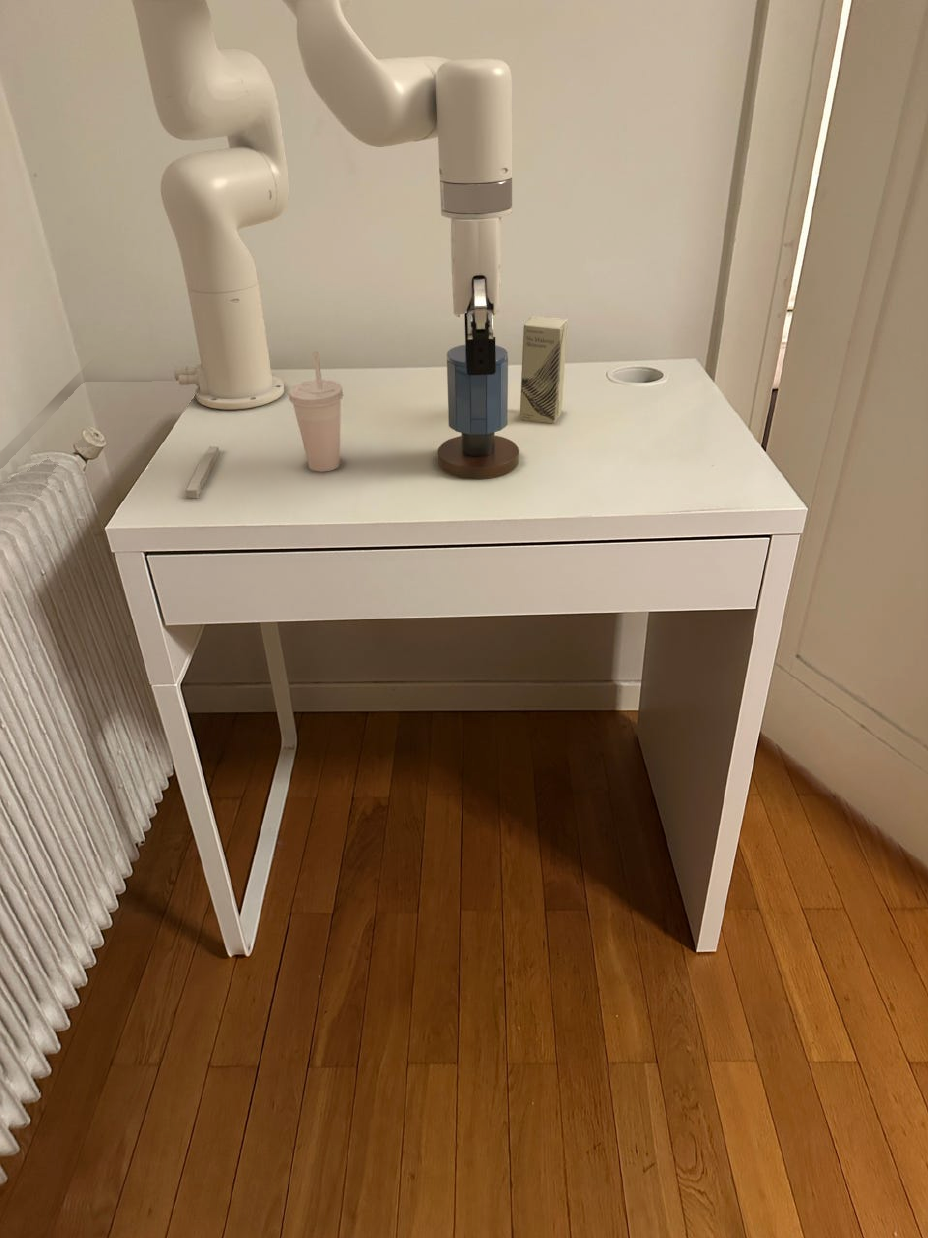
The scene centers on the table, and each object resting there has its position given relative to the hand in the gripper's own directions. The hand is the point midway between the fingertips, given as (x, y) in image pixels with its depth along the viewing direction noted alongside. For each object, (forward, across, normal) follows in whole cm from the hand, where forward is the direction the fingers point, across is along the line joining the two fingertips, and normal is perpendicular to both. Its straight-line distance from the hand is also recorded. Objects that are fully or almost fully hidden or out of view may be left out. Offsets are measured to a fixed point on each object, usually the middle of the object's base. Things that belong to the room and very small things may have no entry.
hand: (479, 359), depth 104 cm
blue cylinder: (+8, 0, 0) cm, 8 cm away
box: (+13, -14, +8) cm, 21 cm away
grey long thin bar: (+12, +2, -34) cm, 36 cm away
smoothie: (+13, 0, -20) cm, 23 cm away
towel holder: (+13, 0, 0) cm, 13 cm away
